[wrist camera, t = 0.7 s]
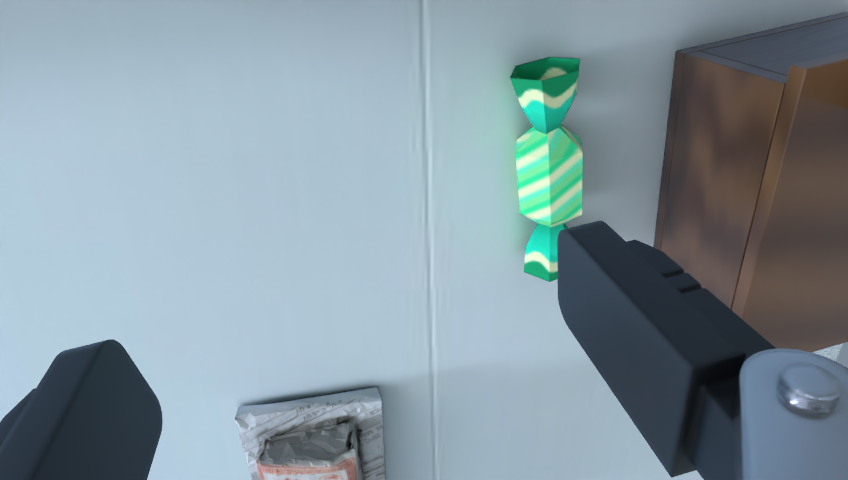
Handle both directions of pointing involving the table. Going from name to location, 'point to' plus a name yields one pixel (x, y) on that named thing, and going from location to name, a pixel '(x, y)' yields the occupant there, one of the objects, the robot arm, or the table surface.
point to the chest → (727, 143)
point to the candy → (547, 158)
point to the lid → (802, 217)
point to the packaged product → (315, 437)
